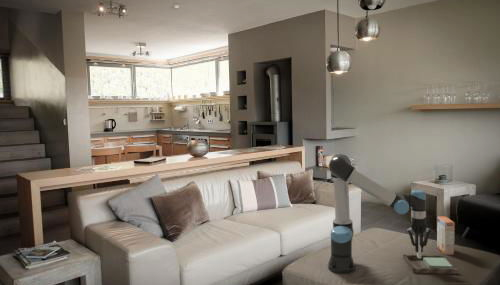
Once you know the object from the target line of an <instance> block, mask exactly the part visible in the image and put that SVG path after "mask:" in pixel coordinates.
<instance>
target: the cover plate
mask: <svg viewBox="0 0 500 285" xmlns="http://www.w3.org/2000/svg"><path fill="white" fill-rule="evenodd" d="M423 262H424V263H425V265H426V266H427V267H428V268H453V265H452V264H451V262H450V261H448V260H447V259H446V258H445V257H444V258H424V257H423Z"/></svg>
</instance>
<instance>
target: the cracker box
mask: <svg viewBox="0 0 500 285" xmlns="http://www.w3.org/2000/svg"><path fill="white" fill-rule="evenodd" d="M436 220H437V225H436V226H437V231H436V236H437V237H436V249H438V250H439V251H440V252H441V253H442V254H443V255H448V256H449V255H450V256H452V255H454V254H455V227H456V224H455V223H456V222H454V221H453V220H451V219H450V218H449V217H448V216H446V215H445V216H441V215H440V216H438V215H437V218H436Z"/></svg>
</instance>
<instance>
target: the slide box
mask: <svg viewBox="0 0 500 285" xmlns="http://www.w3.org/2000/svg"><path fill="white" fill-rule="evenodd" d="M423 257H424V258H445V254H443V255H442V254H441V255H439V254H438V255H437V254H421V258H418V257H417V254H402V259H403V260H404V262H405V263H406V265H407V267H408V268H409V269H410V270H411V271H412V273H413V274H446V275H448V274H455V275H457V274H458V273H459V272H458V268H455V267H454V268H428V267H427V266H426V265H425V263H424V262H423Z"/></svg>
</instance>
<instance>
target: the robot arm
mask: <svg viewBox="0 0 500 285" xmlns="http://www.w3.org/2000/svg"><path fill="white" fill-rule="evenodd" d="M328 169H329V172H330V177H331V179H332V180H333V194H334V197H333V198H334V219H332V229H331V231H330V256H329V261H328V264H327V266H328V267H327V269H328V270H329V271H331V272H332V273H336V274H340V275H345V274H346V275H347V274H348V275H349V274H352V273H354V272H355V270H356V263H355V261H354V258H353V254H352V253H353V247H352V246H353V243H352V242H353V237H354V233H355V232H354V227H353V220H352V219H351V215H350V212H351V211H350V192H349V183H350V184H352V185H354V186H355V187H357V188H359V189H360V190H361V191H363V192H365V193H367V194H368V195H370V196H371V197H374V198H375V199H377V200H378V201H379V202H382V203H383V204H384V205H387V206H388V207H390V208H392V209H393V210H394V211H395V212H396V213H397V214H399V215H405V214H407V213H408V212H409V210H410V208H411V226H410V228H407V229H406V231H407V233H408V235H409V239H410V242H411V245H412V246H413V247H415V248H414V250H415V253H416V255H417V257H418V258H421V255H422V253H423V252H424V247H426V246H427V244H428V240H429V236H430V233H431V232H432V229H430V228H428V226H427V199H426V194H427V193H426V192H425V191H424V190H421V189H414V190H411V192H410V193H396V192H395V193H394V192H393V191H391V190H389V189H388V188H386V187H384V186H382V185H381V184H379V183H377V182H376V181H374V180H372V179H371V178H369V177H367V176H366V175H364V174H362V173H361V172H359V171H358V170H356V167H354V166H353V165H352V161H351V159H350V157H348V155H346V154H344V153H342V154H341V153H339V154H338V153H337V154H336V155H334V156H333V157H332V158H331V160H330V161H329V163H328ZM412 232H413V233H414V235H413V233H412Z"/></svg>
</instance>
